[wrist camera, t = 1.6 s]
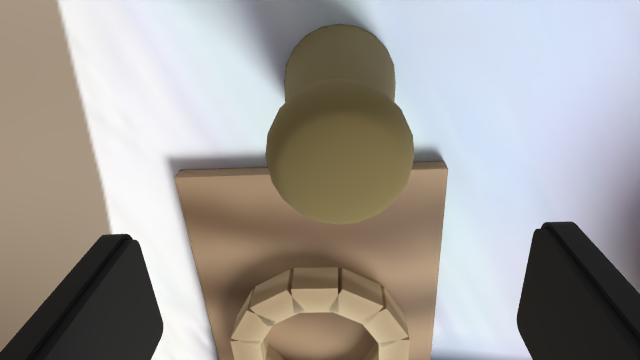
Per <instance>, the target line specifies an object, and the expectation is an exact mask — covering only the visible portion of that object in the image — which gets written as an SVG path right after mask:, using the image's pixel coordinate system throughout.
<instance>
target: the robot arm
mask: <svg viewBox="0 0 640 360" xmlns="http://www.w3.org/2000/svg"><path fill="white" fill-rule="evenodd" d="M517 326H518V330H519V332H520V335H521V337H522V339H523V341H524V343H525V345H526V347H527V349H528V351H529V353H530V355H531V357H532V359H533V360H640V294H639V293H638V292H637V291H636V290H635V288H634V287H633V286H632V285H631V284H630V283H629V282H628V281H627V280H626V279H625V277H624V276H623V275H622V274H621V273H620V272H619V271H618V270H617V269H616V268H615V267H614V265H613V264H612V263H611V262H610V261H609V260H608V259H607V258H606V257H605V256H604V254H603V253H602V252H601V251H600V250H599V249H598V248H597V247H596V246H595V245H594V243H593V242H592V241H591V240H590V239H589V238H588V237H587V236H586V235H585V234H584V233H583V231H582V230H581V229H580V228H579V227H578V226H577V225H576V224H575V223H574V222H546V223H544V224H543V225H542V227H541V229H536V230H535V231H534V234H533V238H532V243H531V248H530V253H529V258H528V263H527V268H526V273H525V278H524V283H523V288H522V293H521V298H520V303H519V308H518V313H517ZM162 333H163V321H162V317H161V314H160V311H159V307H158V304H157V301H156V297H155V294H154V291H153V287H152V284H151V281H150V277H149V274H148V271H147V267H146V264H145V261H144V257H143V254H142V251H141V247H140V244H139V242H138V241H137V240H133V239H132V237H131V236H130V235H128V234H112V235H102V236H101V237H100V238H99V239H98V240H97V242H96V243H95V244H94V245H93V246H92V247H91V248H90V250H89V251H88V252H87V253H86V254H85V255H84V257H83V258H82V259H81V260H80V261H79V262H78V263H77V265H76V266H75V267H74V268H73V269H72V270H71V272H70V273H69V274H68V275H67V276H66V277H65V278H64V280H63V281H62V282H61V283H60V284H59V285H58V286H57V288H56V289H55V290H54V291H53V292H52V293H51V295H50V296H49V297H48V298H47V299H46V300H45V301H44V303H43V304H42V305H41V306H40V307H39V308H38V310H37V311H36V312H35V313H34V314H33V315H32V317H31V318H30V319H29V320H28V321H27V322H26V323H25V325H24V326H23V327H22V328H21V329H20V330H19V332H18V333H17V334H16V335H15V336H14V337H13V339H12V340H11V341H10V342H9V343H8V344H7V345H6V347H5V348H4V349H3V350H2V351H1V352H0V360H151V358H152V356H153V354H154V352H155V350H156V347H157V345H158V343H159V341H160V339H161V336H162Z"/></svg>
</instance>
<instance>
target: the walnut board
mask: <svg viewBox="0 0 640 360" xmlns="http://www.w3.org/2000/svg"><path fill="white" fill-rule="evenodd" d="M447 175H448V168H447V166H446V164H445V162H444V161H435V162H413V165H412V169H411V172H410V176H409V179H408V183H407V185H406V186H405V188H404V189H403V191H402V192H401V194H400V195H399V196H398V198H397V199H396V201H395V202H393V203H392V204H391V205H389V206H388V207H387V208H386V209H384V210H383V211H382V212H380V213H379V214H377V215H376V216H373V217H371V218H368V219H366V220H363V221H361V222H358V223H350V224H341V225H336V224H330V223H323V222H318V221H316V220H314V219H311V218H309V217H307V216H305V215H302V214H300V213H299V212H297V211H296V210H295V209H294V208H293V207H291V206H290V205H289V204H288V203H287V202H285V201H284V200H283V199H282V197H281V196H280V194H279V193H278V191H277V189H276V188H275V186H274V185H273V183H272V181H271V177H270V173H269V169H268V167H259V168H229V169H200V170H180V171H179V172H178V174H177V175H176V176H175V182H176V186H177V190H178V194H179V198H180V202H181V207H182V211H183V215H184V219H185V223H186V227H187V231H188V235H189V239H190V243H191V247H192V251H193V255H194V259H195V263H196V267H197V271H198V275H199V279H200V283H201V287H202V291H203V295H204V299H205V304H206V308H207V312H208V316H209V320H210V324H211V328H212V332H213V336H214V340H215V344H216V348H217V352H218V356H219V360H234V355H233V351H232V346H231V342H230V341H231V336H232V332H233V329H234V325H235V322H236V318H237V315H238V313H239V312H240V310H241V308H242V306H243V305H244V303H245V301H246V299H247V298H248V296H249V294H250V292H251V291H252V289H255V286H257V285H259V284H261V283H263V282H265V281H267V280H269V279H271V278H273V277H275V276H277V275H279V274H281V273H283V272H285V271H287V270H289V269H290V270H291V271H292V272H294V268H322V267H338V274H339V272H340V271H341V269H342V268H343V269H346V270H348V271H351V272H353V273H355V274H358V275H360V276H362V277H365V278H367V279H369V280H372V281H374V282H376V283H379V284H381V288H382V287H384V288H385V289H386V290H387V291H388V293H389V294H390V295H391V297H392V298H393V299H394V301H395V302H396V303H397V305H398V306H399V307H400V309H401V310H402V311H403V313H404V314H405V317H406V323H407V329H408V334H409V357H408V360H430V359H431V348H432V337H433V326H434V315H435V305H436V294H437V283H438V272H439V261H440V251H441V240H442V229H443V218H444V207H445V196H446V186H447ZM267 339H268V343H269V344H270V345H271V347H272V348H273V349H274V350H275V351H276V352H277V353H278V354H279V355H280V356H281V357H282V358H283V359H284V360H362V359H363V358H364V357H365V356H366V355H367V353H368V352H369V351H370V350H371V349H372V347H373V346H374V345H375V344H376V342H377V341H376V340H375V339H374V338H373V336H372V335H371V334H370V333H369V331H368V330H367V329H366V328H365V327H364V325H363V324H361V323H358V322H356V321H353V320H351V319H348V318H346V317H343V316H341V315H339V314H336V313H334V312H318V313H298V314H296V315H294V316H291V317H289V318H287V319H285V320H283V321H281V322H278V323H276V324H274V325H273V326H272V327H271V329H270V330H269V332H268V334H267Z"/></svg>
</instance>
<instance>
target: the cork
mask: <svg viewBox="0 0 640 360" xmlns="http://www.w3.org/2000/svg"><path fill="white" fill-rule="evenodd" d="M284 83H285V102H286V103H285V104H284V105H283V106H282V107H281V108H280V109H279V111H278V113H277V115H276V117H275V119H274V121H273V124H272V126H271V128H270V130H269V132H268V135H267V145H266V161H267V165H268V169H269V173H270V177H271V181H272V183H273V185H274V186H275V188H276V189H277V191H278V193H279V194H280V196H281V197H282V199H283V200H284V201H285V202H287V203H288V204H289V205H290V206H291V207H293V208H294V209H295V210H296V211H297V212H299V213H300V214H302V215H305V216H307V217H309V218H311V219H314V220H316V221H318V222H323V223H330V224H336V225H341V224H350V223H358V222H361V221H363V220H366V219H368V218H371V217H373V216H376V215H377V214H379V213H380V212H382V211H383V210H384V209H386V208H387V207H388V206H389V205H391V204H392V203H393V202H395V201H396V199H397V198H398V196H399V195H400V194H401V192H402V191H403V189H404V188H405V186H406V185H407V183H408V179H409V176H410V172H411V169H412V165H413V161H414V146H413V135H412V133H411V130H410V128H409V126H408V124H407V121H406V119H405V117H404V115H403V113H402V110H401V109H400V108H399V107H398V106H397V105H396V104H395V103H394V97H395V72H394V64H393V62H392V60H391V57H390V55H389V53H388V50H387V48H386V47H385V46H384V45H383V44H382V43H381V42H380V41H379V40H378V39H377V38H376V36H375V35H373V34H371V33H369V32H367V31H365V30H364V29H362V28H360V27H356V26H350V25H344V24H337V25H331V26H325V27H321V28H319V29H317V30H316V31H314V32H312V33H310V34H308V35H306V36H305V37H304V38H303V39H302V41H301V42H300V43H299V44H298V45H297V46H296V47H295V48H294V49H293V52H292V54H291V56H290V58H289V60H288V62H287V65H286V73H285V82H284Z"/></svg>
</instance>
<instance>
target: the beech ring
mask: <svg viewBox="0 0 640 360" xmlns="http://www.w3.org/2000/svg"><path fill="white" fill-rule="evenodd" d="M318 312H334V313H336V314H339V315H341V316H343V317H346V318H348V319H351V320H353V321H356V322H358V323H361V324H363V325H364V327H365V328H366V329H367V330H368V331H369V333H370V334H371V335H372V336H373V338H374V339H375V340H376V341H377V342H376V344H375V345H374V346H373V347H372V349H371V350H370V351H369V352H368V353H367V355H366V356H365V357H364V358H363V359H362V360H408V357H409V334H408V329H407V323H406V317H405V314H404V313H403V311H402V310H401V309H400V307H399V306H398V305H397V303H396V302H395V301H394V299H393V298H392V297H391V295H390V294H389V293H388V291H387V290H386V289H385V288H384V287H382V288H381V284H379V283H376V282H374V281H372V280H369V279H367V278H365V277H362V276H360V275H358V274H355V273H353V272H351V271H348V270H346V269H343V268H342V269H341V271H340V272H339V274H338V267H322V268H294V272H292V271H291V270H290V269H289V270H287V271H285V272H283V273H281V274H279V275H277V276H275V277H273V278H271V279H269V280H267V281H265V282H263V283H261V284H259V285H257V286H255V289H252V291H251V292H250V294H249V296H248V298H247V299H246V301H245V303H244V305H243V306H242V308H241V310H240V312H239V313H238V315H237V318H236V322H235V325H234V329H233V332H232V336H231V341H230V342H231V346H232V351H233V355H234V360H284V359H283V358H282V357H281V356H280V355H279V354H278V353H277V352H276V351H275V350H274V349H273V348H272V347H271V345H270V344H269V343H268V339H267V334H268V332H269V330H270V329H271V327H272V326H273V325H274V324H276V323H278V322H281V321H283V320H285V319H287V318H289V317H291V316H294V315H296V314H298V313H318Z"/></svg>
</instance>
